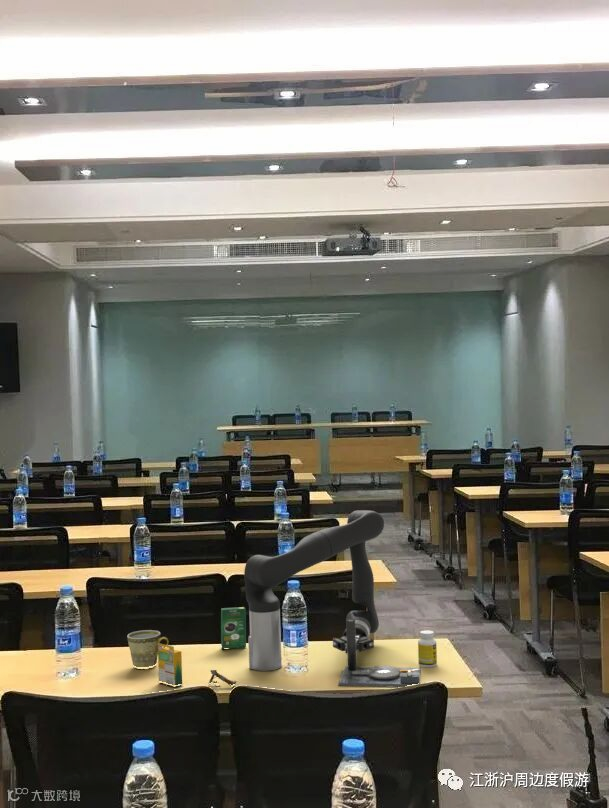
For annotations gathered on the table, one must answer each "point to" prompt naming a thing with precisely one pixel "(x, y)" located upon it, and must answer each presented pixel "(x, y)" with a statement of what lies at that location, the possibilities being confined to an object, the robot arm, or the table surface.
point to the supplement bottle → (427, 649)
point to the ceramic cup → (144, 647)
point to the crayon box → (169, 665)
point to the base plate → (365, 680)
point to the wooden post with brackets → (220, 678)
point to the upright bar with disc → (372, 672)
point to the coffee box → (233, 627)
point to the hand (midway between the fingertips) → (349, 651)
